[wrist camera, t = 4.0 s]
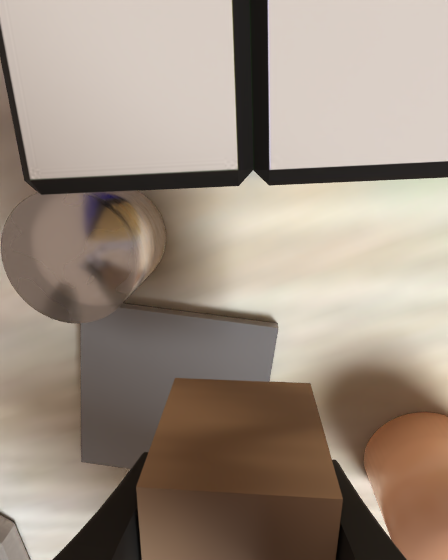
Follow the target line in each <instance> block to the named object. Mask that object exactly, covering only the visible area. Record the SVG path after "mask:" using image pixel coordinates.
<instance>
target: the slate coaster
mask: <svg viewBox="0 0 448 560" xmlns="http://www.w3.org/2000/svg"><path fill="white" fill-rule="evenodd" d="M80 325H81V462H86V463H93V464H100V465H107V466H114V467H121V468H128V469H131V468H132V467H133V465H134V464H135V463H136V461H137V460H138V459H139V457H140V456H141V455H142V454H143V453H144V452H149V449H150V447H151V444H152V441H153V438H154V435H155V433H156V430H157V427H158V424H159V422H160V419H161V416H162V413H163V410H164V408H165V405H166V402H167V399H168V396H169V394H170V391H171V388H172V385H173V382H174V380H175V378H190V379H215V380H240V381H265V382H269V381H270V375H271V369H272V363H273V357H274V351H275V345H276V339H277V333H278V323H272V322H264V321H257V320H249V319H241V318H233V317H226V316H218V315H210V314H202V313H194V312H187V311H179V310H171V309H163V308H156V307H148V306H140V305H132V304H125V303H122V305H121V306H120V307H118V308H117V309H116V310H115V311H114V312H112V313H111V314H110V315H108V316H106V317H104V318H102V319H99V320H96V321H93V322H88V323H80Z"/></svg>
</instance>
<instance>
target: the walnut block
mask: <svg viewBox="0 0 448 560" xmlns="http://www.w3.org/2000/svg"><path fill="white" fill-rule="evenodd" d="M136 493H137V505H138V518H139V531H140V543H141V556H142V560H336V552H337V544H338V536H339V528H340V519H341V511H342V503H343V498H342V494H341V491H340V487H339V484H338V480H337V476H336V473H335V469H334V466H333V462H332V459H331V455H330V452H329V448H328V444H327V441H326V437H325V434H324V430H323V427H322V423H321V420H320V416H319V412H318V409H317V405H316V402H315V398H314V395H313V391H312V388H311V384H310V383H289V382H265V381H240V380H215V379H190V378H175V380H174V382H173V385H172V388H171V391H170V394H169V396H168V399H167V402H166V405H165V408H164V410H163V413H162V416H161V419H160V422H159V424H158V427H157V430H156V433H155V435H154V438H153V441H152V444H151V447H150V449H149V452H148V455H147V458H146V461H145V463H144V466H143V469H142V472H141V475H140V477H139V480H138V483H137V486H136Z"/></svg>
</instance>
